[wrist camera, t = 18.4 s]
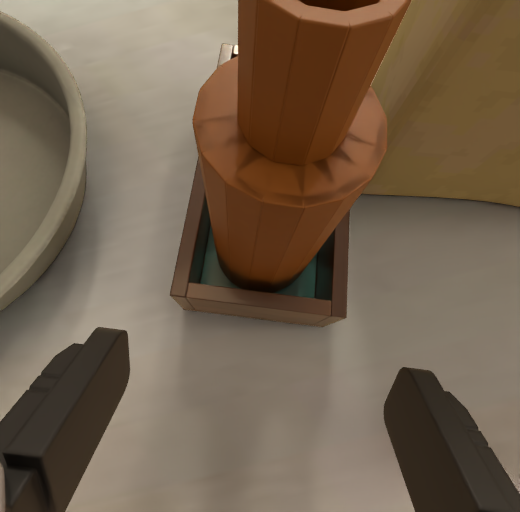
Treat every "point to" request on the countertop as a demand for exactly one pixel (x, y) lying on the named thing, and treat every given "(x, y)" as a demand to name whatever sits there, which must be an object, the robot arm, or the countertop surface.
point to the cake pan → (36, 156)
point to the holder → (248, 301)
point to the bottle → (291, 131)
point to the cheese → (452, 102)
